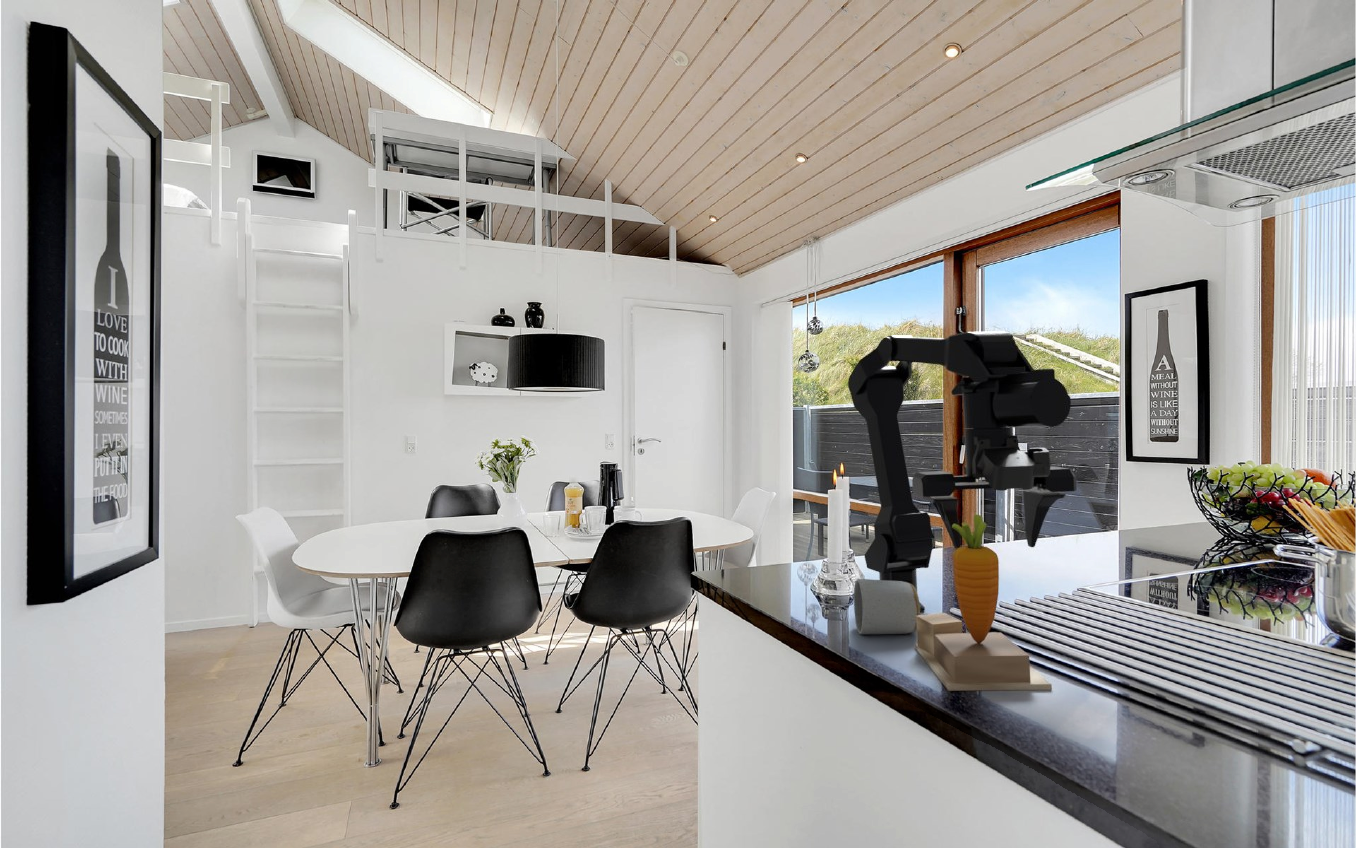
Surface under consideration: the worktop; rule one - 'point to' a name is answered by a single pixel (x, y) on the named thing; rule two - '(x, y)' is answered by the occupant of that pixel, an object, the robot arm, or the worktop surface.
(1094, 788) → the worktop surface
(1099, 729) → the worktop surface
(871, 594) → the grey cylinder on side
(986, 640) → the light brown square block
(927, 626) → the oak cube
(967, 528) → the carrot
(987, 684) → the birch board
